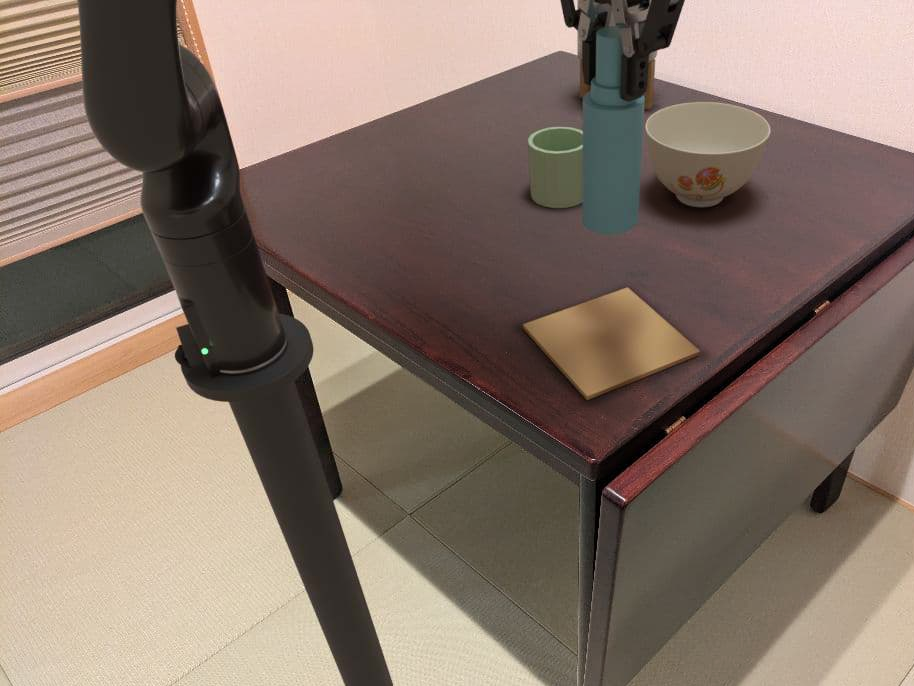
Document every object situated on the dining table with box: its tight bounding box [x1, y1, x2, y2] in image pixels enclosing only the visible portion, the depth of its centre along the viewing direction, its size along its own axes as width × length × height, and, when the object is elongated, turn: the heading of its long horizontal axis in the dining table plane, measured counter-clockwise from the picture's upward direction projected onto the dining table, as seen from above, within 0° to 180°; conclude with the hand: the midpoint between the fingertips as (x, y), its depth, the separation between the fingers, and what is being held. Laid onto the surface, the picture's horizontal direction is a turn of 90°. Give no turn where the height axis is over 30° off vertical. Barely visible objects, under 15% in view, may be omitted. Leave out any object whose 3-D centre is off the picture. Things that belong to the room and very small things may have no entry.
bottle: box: [581, 26, 645, 236], centre depth 71 cm, size 5×5×18 cm
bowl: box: [644, 101, 772, 208], centre depth 106 cm, size 16×16×10 cm
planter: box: [576, 0, 658, 111], centre depth 128 cm, size 13×13×18 cm
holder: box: [527, 126, 583, 209], centre depth 109 cm, size 8×8×8 cm
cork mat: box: [522, 286, 701, 401], centre depth 86 cm, size 14×14×1 cm
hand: (613, 89), depth 69 cm, fingers closed on bottle, 4 cm apart
